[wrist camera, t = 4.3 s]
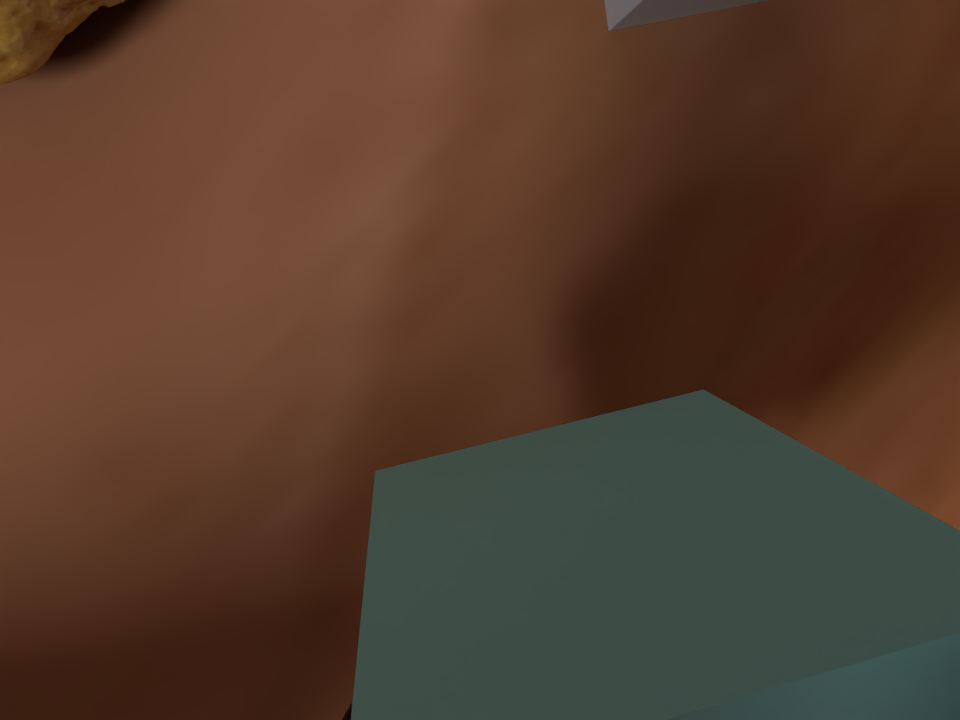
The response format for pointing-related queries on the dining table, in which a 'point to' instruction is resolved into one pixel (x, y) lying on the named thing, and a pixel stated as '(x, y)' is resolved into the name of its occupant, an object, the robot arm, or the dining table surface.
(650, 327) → the dining table surface
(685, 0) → the grey cube
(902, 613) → the teal block
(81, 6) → the bagel
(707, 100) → the dining table surface
